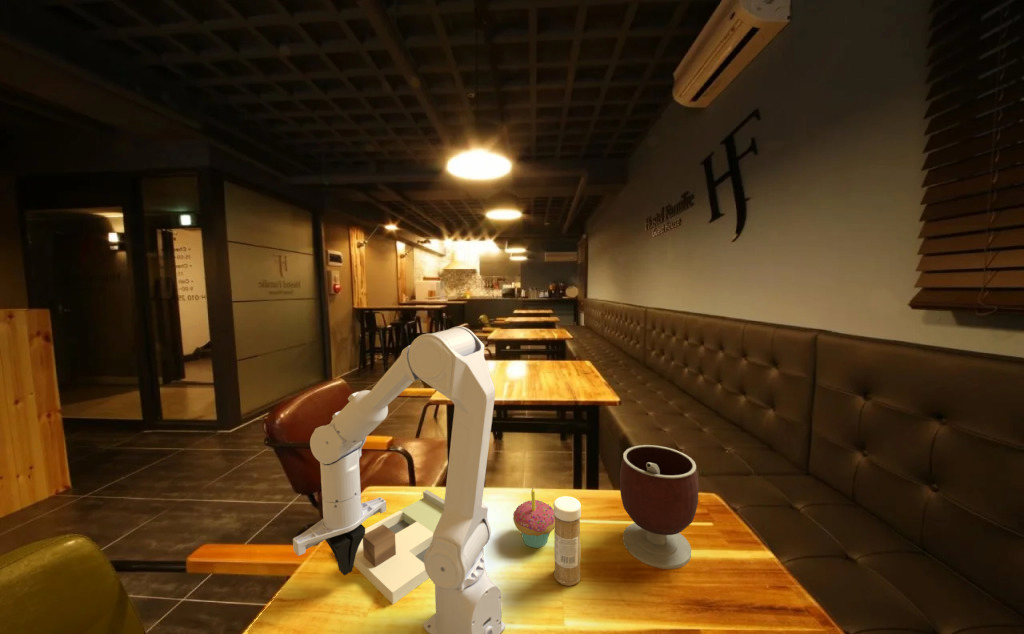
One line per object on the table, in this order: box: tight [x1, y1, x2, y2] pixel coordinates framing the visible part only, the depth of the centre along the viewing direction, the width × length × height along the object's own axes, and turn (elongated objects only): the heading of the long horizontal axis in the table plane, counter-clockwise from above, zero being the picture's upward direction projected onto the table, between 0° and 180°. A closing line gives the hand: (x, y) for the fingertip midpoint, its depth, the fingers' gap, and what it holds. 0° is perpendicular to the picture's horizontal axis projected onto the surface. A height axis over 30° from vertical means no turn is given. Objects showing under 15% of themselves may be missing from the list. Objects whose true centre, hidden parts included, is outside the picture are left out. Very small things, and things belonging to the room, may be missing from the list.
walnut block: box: [363, 525, 396, 567], centre depth 67 cm, size 4×4×4 cm
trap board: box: [353, 489, 445, 605], centre depth 73 cm, size 18×20×4 cm
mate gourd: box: [619, 444, 700, 570], centre depth 71 cm, size 16×14×20 cm
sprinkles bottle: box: [553, 495, 582, 587], centre depth 64 cm, size 5×5×13 cm
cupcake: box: [512, 486, 555, 549], centre depth 74 cm, size 9×8×12 cm
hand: (345, 570), depth 63 cm, fingers closed
